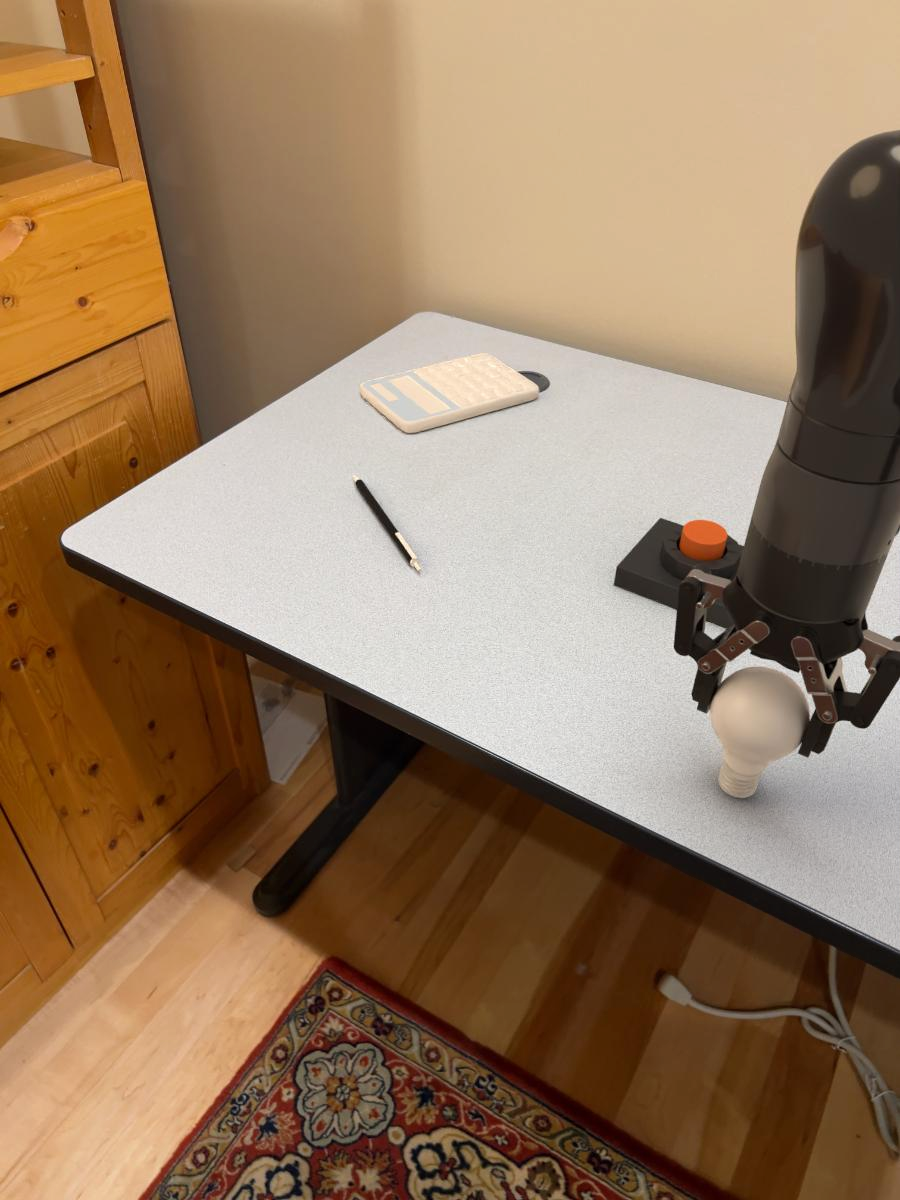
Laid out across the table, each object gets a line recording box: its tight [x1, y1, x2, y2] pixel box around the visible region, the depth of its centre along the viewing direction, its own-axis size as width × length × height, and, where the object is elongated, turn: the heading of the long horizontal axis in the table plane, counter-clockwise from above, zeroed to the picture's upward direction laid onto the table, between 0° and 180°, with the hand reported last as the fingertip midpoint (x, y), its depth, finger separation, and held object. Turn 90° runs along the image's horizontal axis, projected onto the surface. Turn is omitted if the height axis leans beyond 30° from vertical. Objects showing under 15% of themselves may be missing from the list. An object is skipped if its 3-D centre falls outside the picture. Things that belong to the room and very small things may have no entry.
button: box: [679, 519, 729, 561], centre depth 81 cm, size 4×4×2 cm
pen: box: [352, 474, 423, 573], centre depth 90 cm, size 1×19×1 cm, turn 24°
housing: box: [613, 517, 744, 629], centre depth 82 cm, size 12×10×4 cm
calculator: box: [358, 352, 540, 434], centre depth 113 cm, size 13×20×2 cm, turn 121°
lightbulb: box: [709, 666, 811, 799], centre depth 61 cm, size 6×6×11 cm
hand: (755, 725), depth 60 cm, fingers closed on lightbulb, 6 cm apart
